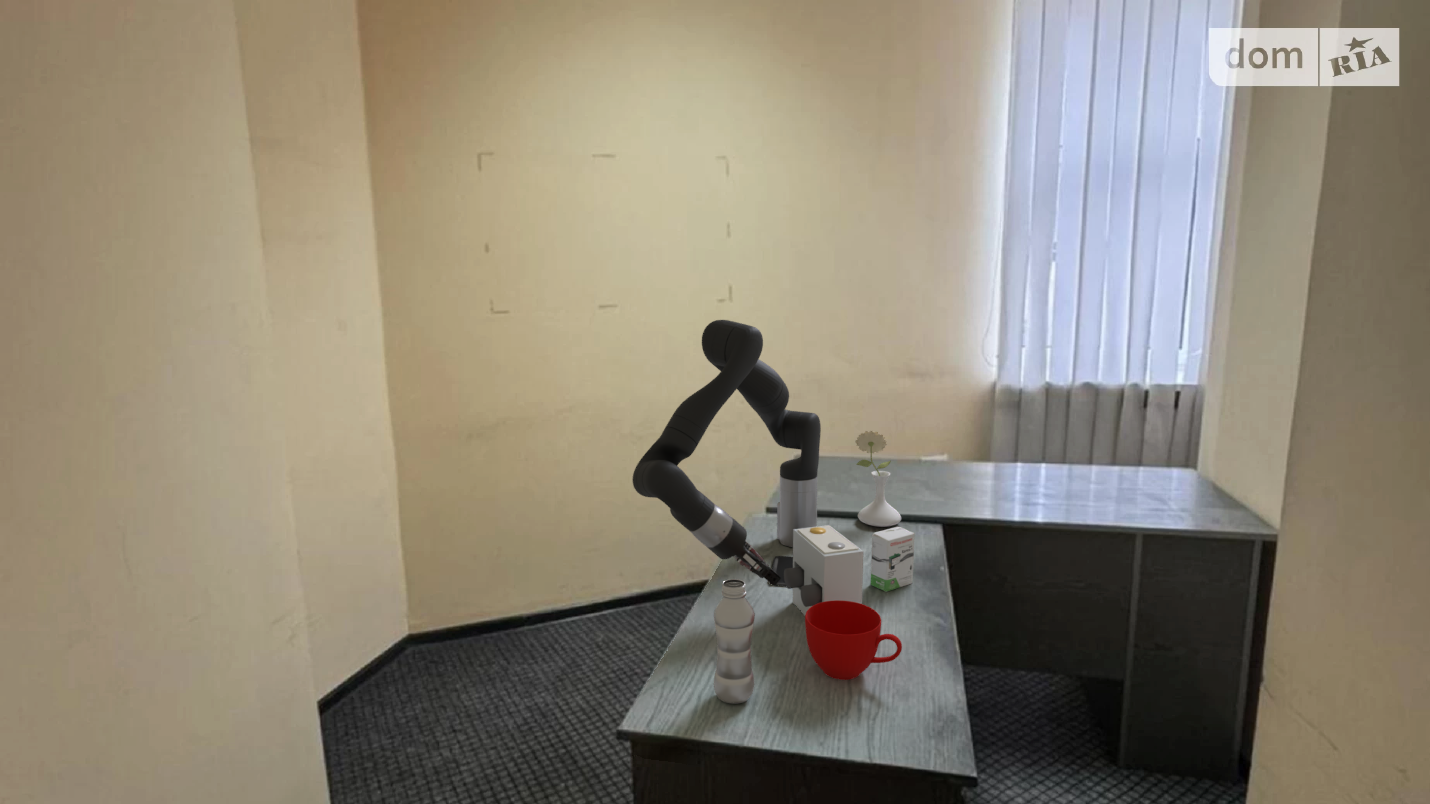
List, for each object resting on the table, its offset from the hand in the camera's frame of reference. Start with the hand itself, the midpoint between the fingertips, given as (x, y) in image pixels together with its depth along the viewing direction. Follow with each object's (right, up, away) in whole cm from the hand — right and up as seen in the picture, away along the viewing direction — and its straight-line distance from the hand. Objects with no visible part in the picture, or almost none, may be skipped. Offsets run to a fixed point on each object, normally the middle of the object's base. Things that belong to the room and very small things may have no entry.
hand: (776, 580), depth 155 cm
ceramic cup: (+11, -11, -22) cm, 27 cm away
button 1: (+4, -1, +1) cm, 5 cm away
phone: (+5, -3, +21) cm, 21 cm away
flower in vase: (+31, +3, +52) cm, 60 cm away
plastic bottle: (-9, -13, -29) cm, 33 cm away
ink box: (+26, -4, +14) cm, 30 cm away
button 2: (+7, -3, -7) cm, 10 cm away
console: (+11, -7, 0) cm, 13 cm away
